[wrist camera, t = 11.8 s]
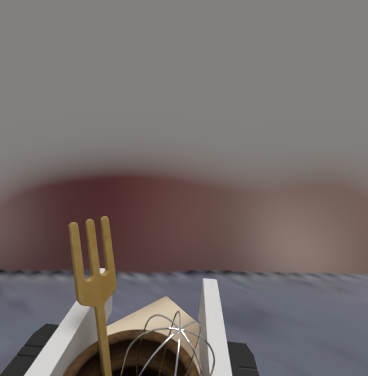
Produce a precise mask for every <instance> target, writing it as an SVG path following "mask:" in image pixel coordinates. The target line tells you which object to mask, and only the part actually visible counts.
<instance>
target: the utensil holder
mask: <svg viewBox="0 0 368 376" xmlns="http://www.w3.org/2000/svg"><path fill="white" fill-rule="evenodd" d="M85 224H86V234H87V244H88V253H89V262H90V273H91V275H90V277H89V278H88V279H85V277H84V269H83V261H82V253H81V245H80V239H79V238H80V237H79V230H78V224H77V223H75V222H73V223H70V225H69V234H70V243H71V253H72V262H73V272H74V281H75V291H76V299H77V302H78V303H79V304H80V305H82V306H89V307H94V310H95V318H96V327H97V336H98V341H96V342H95V343H93V344H92V345H90V346H89V347H88V348H86V349H85V350H84V351H83V352H82V353H80V354H79V355H78V356H77V357H76V358H75V359H74V361H73V362H72V363H71V364H70V365H69V367H68V368H67V369H66V371H65V372H64V374H63V376H200V374H199V372H198V369H197V367H196V365H195V363H194V361H193V358H194V355H195V356H196V359H197V361H198V364H199V368H200V371H201V376H204V375H203V371H202V367H201V364H200V361H199V358H198V356H197V354H196V349H197V346H198V343H199V339H200V338H201V339H202V340H203V341H205V342H206V344H207V345H208V346H209V347H210V349H211V352H212V354H213V366H212V370H211V373H210V376H212V373H213V370H214V366H215V355H214V352H213V349H212V347H211V346H210V344H209V343H208V342H207V341H206V340H205V339H204V338H203V337H201V331H202V327H201V324H200V322H198V321H192V322H190V323H188V324H186V325H184V326H183V327H181V315H180V311H177V312H176V314H175V316H174V319H173V321H172V320H171V319H169V318H168V317H166V316H164V315H161V314H155V315H153V316H151V317H150V318H149V319H148V320H147V322H146V324H145V327H144V330H142V329H134V330H125V331H120V332H117V333H114V334H111V335H107V327H106V318H105V309H104V306H105V303H106V301H107V300H108V299H109V298H110V296H111V295H112V294H113V293H114V292H115V290H116V287H117V284H116V275H115V267H114V259H113V251H112V243H111V235H110V226H109V219H108V217H106V216H104V217H102V218H101V229H102V239H103V250H104V260H105V271H104V273H102V274H101V273H100V267H99V258H98V251H97V242H96V234H95V227H94V221H93V220H92V219H89V220H87V221H86V223H85ZM177 313H179V327H178V326H177V325H176V324H175V323H174V320H175V317H176V315H177ZM155 316H161V317H164V318H166V319H167V320H169V321H170V322H171V323H172V325H171V327H163V328H155V329H152V330H145V329H146V326H147V323H148V322H149V320H150V319H151V318H153V317H155ZM192 323H198V324H199V325H200V333H199V335H198V334H196V333H194V332H191V331H188V330H184V329H183V328H185V327H186V326H188V325H190V324H192ZM173 324H174V325H175V326H176V328H172V327H173ZM165 329H167V330H170V332H169V335H168V336H166V335H164V334H161V333H158V332H155V331H156V330H165ZM179 329H180V330H179ZM171 330H177V331H176V332H174V333H173V334H172V335H171V336H170V334H171ZM178 332H179V337H178V343H177V342H176V341H175V340H173V339H172V337H173V336H174V335H175V334H176V333H178ZM183 332H188V333H190V334H193V335H195V336H197V337H198V341H197V344H196V347H195V350H194V348H193V346H192V344H191V342H190V341H189V339H188V338H187V336H186V335H185V334H184V333H183ZM181 333H182V335H183V336H184V337H185V339H186V340H187V341H188V343H189V345H190V346H191V348H192V350H193V352H194V353H193V356H192V358H191V356H190V355H189V354H188V352H187V351H186V350H185V349H184V348H183V347H182V346H181V345H180V335H181Z"/></svg>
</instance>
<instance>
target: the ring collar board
mask: <svg viewBox="0 0 368 376" xmlns="http://www.w3.org/2000/svg"><path fill="white" fill-rule="evenodd" d="M177 311H180V315H181V327H183V326H184V325H186V324H188V323H190V322H192V321H194V320H193V319H192V318H191V317H190V316H189V315H188V314H186V313H185V312H184V311H183V310H182V309H181V308H179V307H178V306H177V305H176V304H175V303H174V302H173V301H171V300H170V299H169V298H168V297H167V296H166V297H164V298H162V299H160V300H158V301H156V302H154V303H152V304H150V305H148V306H146V307H144V308H142V309H140V310H138V311H136V312H134V313H132V314H130V315H128V316H126V317H125V318H123V319H121V320H119V321H117V322H115V323H113V324H111V325H109V326H107V335H111V334H114V333H117V332H120V331H125V330H134V329H142V330H144V327H145V324H146V322H147V320H148V319H149V318H150V317H151V316H153V315H155V314H161V315H164V316H166V317H168V318H169V319H171V320H172V321H173V319H174V316H175V314H176V312H177ZM174 323H175V324H176V325H177V326H178V327H179V313H177V315H176V317H175V320H174ZM171 325H172V323H171V322H170V321H169V320H167V319H166V318H164V317H161V316H155V317H153V318H151V319H150V320H149V322H148V323H147V326H146V329H145V330H152V329H155V328H163V327H171ZM172 328H176V326H175V325H174V324H173V327H172ZM183 329H184V330H188V331H191V332H194V333H196V334H198V335H199V327H198V323H192V324H190V325H188V326H186V327H185V328H183ZM179 330H180V329H179ZM176 331H177V330H171V334H170V336H171V335H172V334H173V333H174V332H176ZM155 332H158V333H161V334H164V335H166V336H168V335H169V332H170V330H167V329H165V330H156V331H155ZM183 333H184V334H185V335H186V336H187V338H188V339H189V341H190V342H191V344H192V346H193V348H194V350H195V347H196V344H197V341H198V337H197V336H195V335H193V334H190V333H188V332H183ZM178 337H179V332H178V333H176V334H175V335H174V336H173V337H172V339H173V340H175V341H176V342H177V343H178ZM180 345H181V346H182V347H183V348H184V349H185V350H186V351H187V352H188V354H189V355H190V356H191V358H192V356H193V353H194V352H193V350H192V348H191V346H190V345H189V343H188V341H187V340H186V339H185V337H184V336H183V335H182V333H181V335H180ZM196 354H197V356H198V358H199V343H198V346H197V349H196ZM193 361H194V363H195V365H196V367H197V369H198V372H199V374H200V368H199V364H198V361H197V359H196V356H195V355H194V358H193Z"/></svg>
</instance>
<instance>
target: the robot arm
mask: <svg viewBox="0 0 368 376" xmlns="http://www.w3.org/2000/svg"><path fill="white" fill-rule="evenodd" d="M104 271H105V269H104V268H100V273H101V274H102V273H104ZM104 309H105V318H106V323H107V321H108V318H109V316H110V314H111V312H112V295H111V296H110V298H109V299H108V300H107V301H106V303H105V306H104ZM198 322H200V324H201V327H202V331H201V337H203V338H204V339H205V340H206V341H207V342H208V343H209V344H210V346H211V347H212V349H213V352H214V355H215V366H214V370H213V373H212V376H259V374H258V371H257V366H256V363H255V359H254V355H253V354H252V352H251V351H250V349H249V348H248V346H247V345H246V344H244V343H234V342H227V340H226V334H225V328H224V322H223V315H222V309H221V303H220V297H219V291H218V285H217V280H215V279H205V278H203V284H202V292H201V301H200V310H199V318H198ZM198 327H199V333H200V325H199V324H198ZM96 341H98V336H97V327H96V318H95V310H94V307H89V306H82V305H80V304H79V303H78V302H77V301H76V302H75V304H74V305H73V307H72V308H71V309H70V311H69V312H68V314H67V315H66V317H65V318H64V319H63V321H62V322H61V324H60V325H53V324H45V325H44V326H43V327H41V328H40V329H39V330H37V331H36V332H35V333H34V334H33V335H32V336H31V337H30V339H29V340H28V341H27V342H26V344H25V346H24V347H22V349H21V350H20V351H19V352H18V354H17V356H16V357H14V359H13V360H12V361H11V362H10V364H9V365H8V366H7V367H6V369H5V370H4V371H3V372H2V374H1V375H0V376H63V374H64V372H65V371H66V369H67V368H68V367H69V365H70V364H71V363H72V362H73V361H74V359H75V358H76V357H77V356H78V355H79V354H80V353H82V352H83V351H84V350H85V349H86V348H88V347H89V346H90V345H92V344H93V343H95V342H96ZM199 361H200V364H201V367H202V371H203V375H204V376H210V373H211V370H212V366H213V354H212V352H211V349H210V347H209V346H208V345H207V344H206V342H205V341H203V340H202V339H201V338H200V339H199ZM200 376H201V371H200Z"/></svg>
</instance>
